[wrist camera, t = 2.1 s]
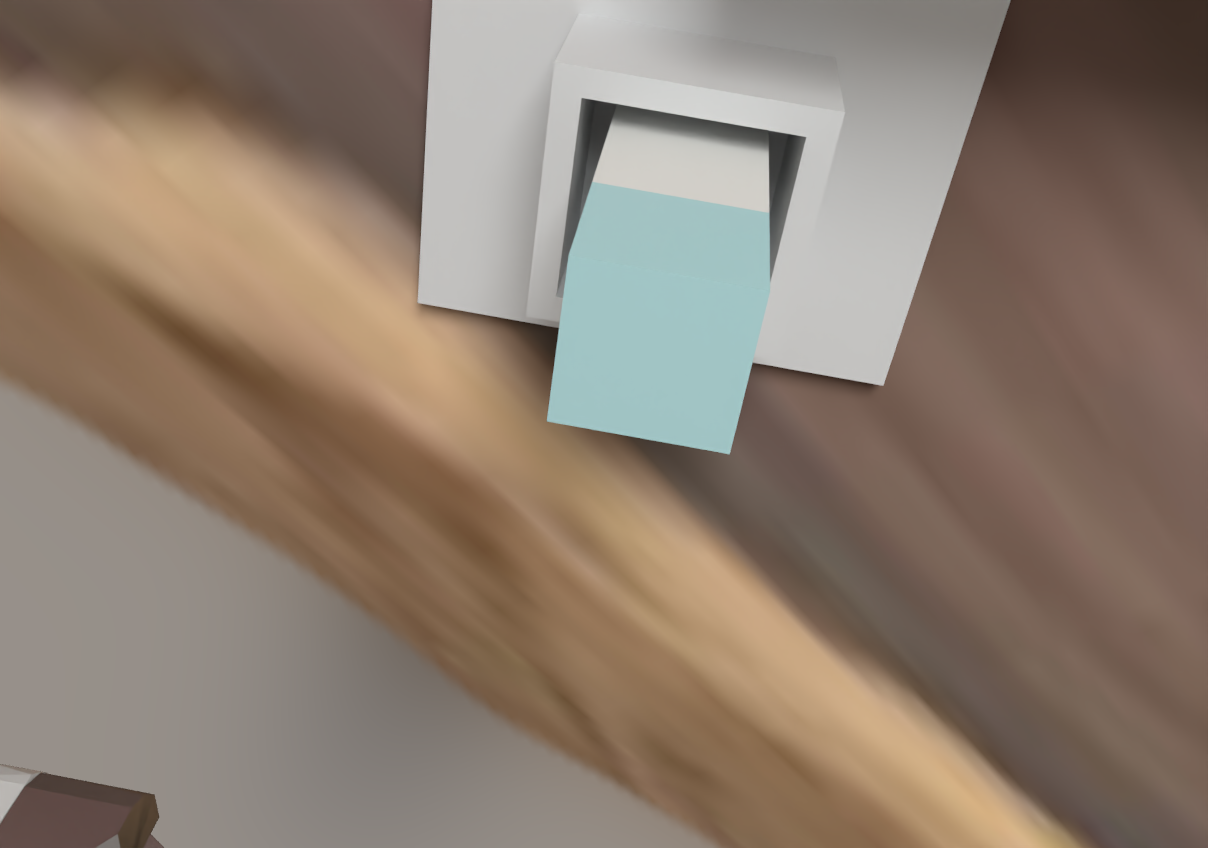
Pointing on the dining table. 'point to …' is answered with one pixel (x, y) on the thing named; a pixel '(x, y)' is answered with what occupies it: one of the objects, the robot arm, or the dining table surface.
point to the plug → (666, 282)
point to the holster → (718, 93)
